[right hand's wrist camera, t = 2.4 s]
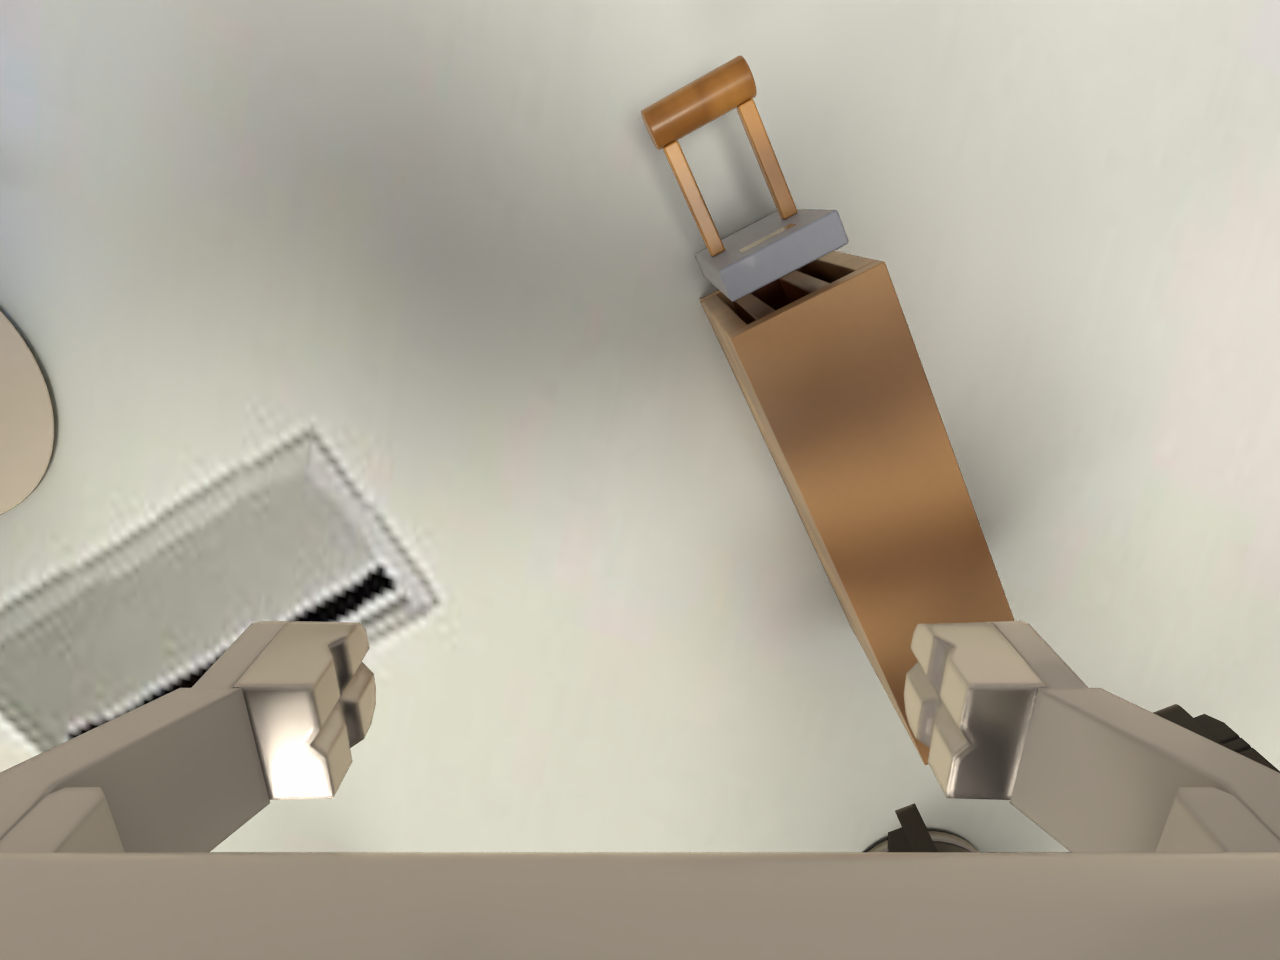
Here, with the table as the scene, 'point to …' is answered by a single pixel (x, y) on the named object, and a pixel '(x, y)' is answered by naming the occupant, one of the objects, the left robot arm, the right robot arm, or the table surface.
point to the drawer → (768, 249)
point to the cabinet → (865, 460)
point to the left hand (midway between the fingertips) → (1037, 775)
